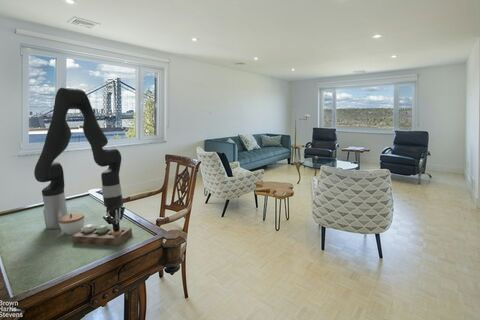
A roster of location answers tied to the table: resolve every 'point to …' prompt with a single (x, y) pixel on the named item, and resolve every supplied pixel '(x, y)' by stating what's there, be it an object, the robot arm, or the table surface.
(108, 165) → the robot arm
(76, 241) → the wooden tray
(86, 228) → the button ivory
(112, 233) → the button terracotta
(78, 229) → the lidded jar
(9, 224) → the table surface
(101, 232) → the button sage
